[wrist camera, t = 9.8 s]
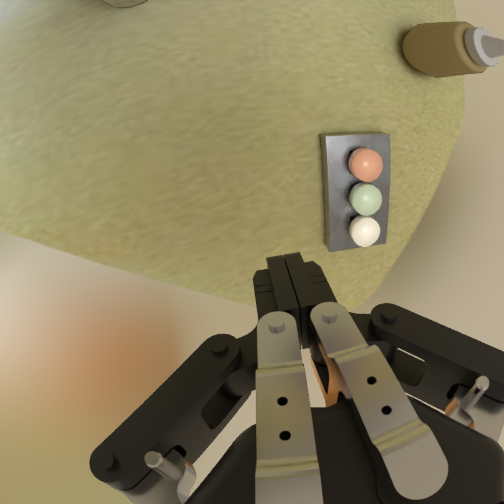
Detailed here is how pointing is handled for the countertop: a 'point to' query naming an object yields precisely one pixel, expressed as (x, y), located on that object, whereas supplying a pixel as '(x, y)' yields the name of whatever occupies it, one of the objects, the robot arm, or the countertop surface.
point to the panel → (341, 178)
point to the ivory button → (364, 230)
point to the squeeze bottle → (451, 49)
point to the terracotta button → (365, 164)
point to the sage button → (365, 198)
